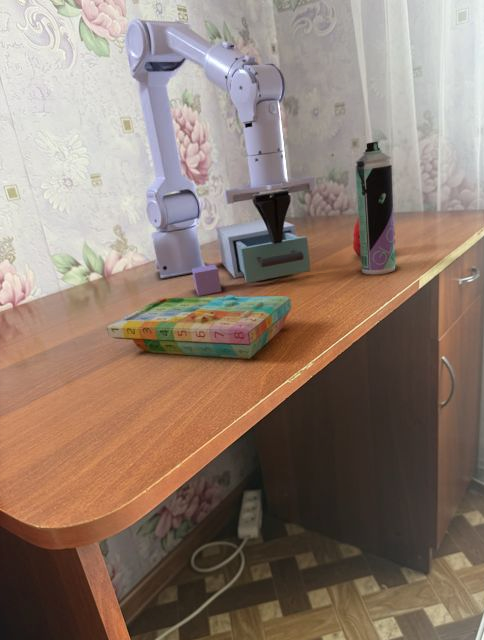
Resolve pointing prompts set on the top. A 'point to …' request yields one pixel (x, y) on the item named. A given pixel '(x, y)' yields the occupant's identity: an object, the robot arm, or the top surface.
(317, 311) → the top surface
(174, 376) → the top surface
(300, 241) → the open teal drawer
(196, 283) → the lavender toy cube
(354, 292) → the top surface
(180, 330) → the puzzle game
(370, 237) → the spray can
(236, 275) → the mini drawer cabinet
